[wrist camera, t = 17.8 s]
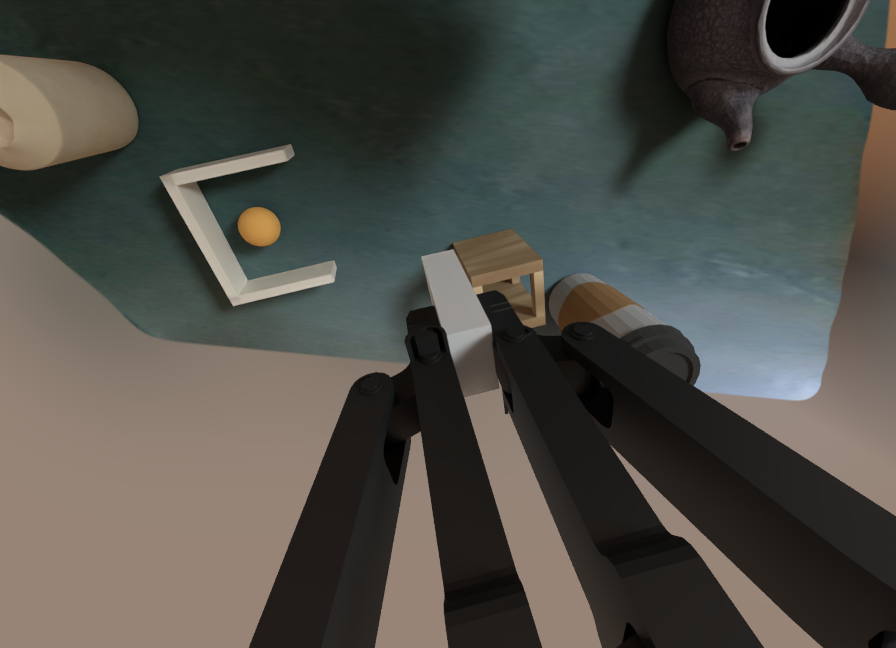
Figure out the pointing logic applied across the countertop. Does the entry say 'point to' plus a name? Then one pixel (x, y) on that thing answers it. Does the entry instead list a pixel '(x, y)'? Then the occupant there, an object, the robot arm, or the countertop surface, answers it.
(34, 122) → the candle
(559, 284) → the coffee cup
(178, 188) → the white u-shaped corral
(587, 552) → the robot arm
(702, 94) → the teapot
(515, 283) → the wooden cage
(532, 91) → the countertop surface
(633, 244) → the countertop surface
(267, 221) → the ball
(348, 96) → the countertop surface
